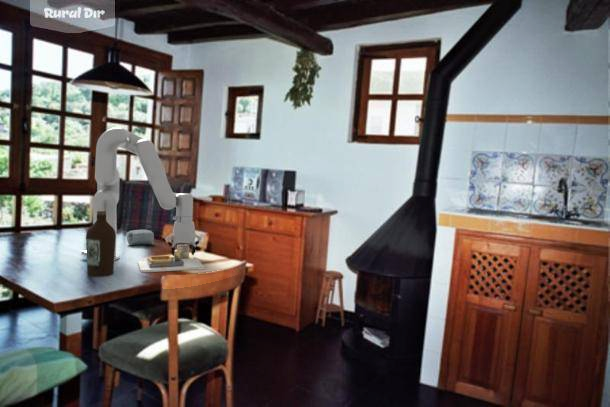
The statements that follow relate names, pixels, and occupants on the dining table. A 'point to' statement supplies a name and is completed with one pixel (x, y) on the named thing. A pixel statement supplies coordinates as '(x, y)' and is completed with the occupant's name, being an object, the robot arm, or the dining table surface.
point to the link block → (183, 251)
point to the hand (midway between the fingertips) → (183, 254)
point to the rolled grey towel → (140, 237)
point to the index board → (188, 265)
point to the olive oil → (100, 247)
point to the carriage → (165, 260)
